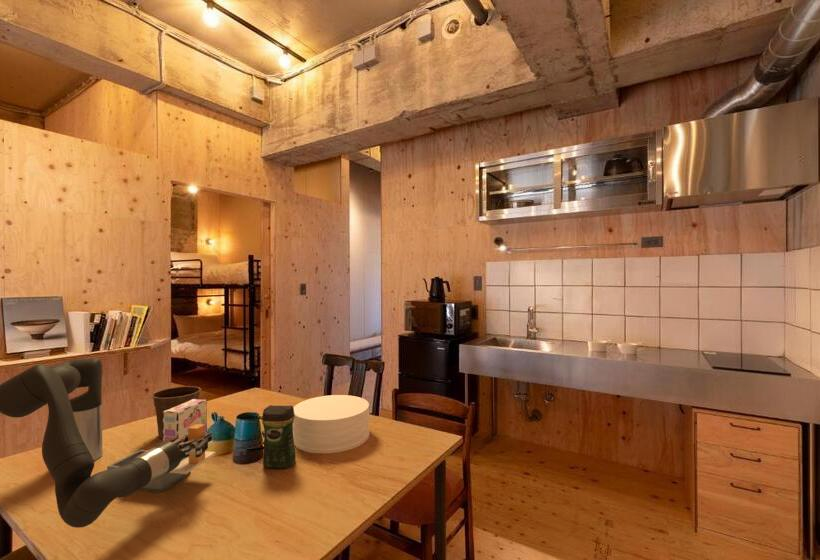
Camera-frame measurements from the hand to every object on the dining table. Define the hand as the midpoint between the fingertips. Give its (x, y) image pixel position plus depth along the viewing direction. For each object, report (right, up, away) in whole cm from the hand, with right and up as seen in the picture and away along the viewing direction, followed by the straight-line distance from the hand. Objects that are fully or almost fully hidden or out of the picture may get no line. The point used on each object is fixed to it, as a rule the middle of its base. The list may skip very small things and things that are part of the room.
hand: (203, 435), depth 115 cm
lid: (-8, -7, -1) cm, 11 cm away
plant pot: (-29, -13, +35) cm, 47 cm away
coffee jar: (+19, -13, +9) cm, 25 cm away
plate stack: (+32, -13, +30) cm, 46 cm away
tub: (-16, -13, +1) cm, 21 cm away
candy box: (-16, -13, +18) cm, 27 cm away
